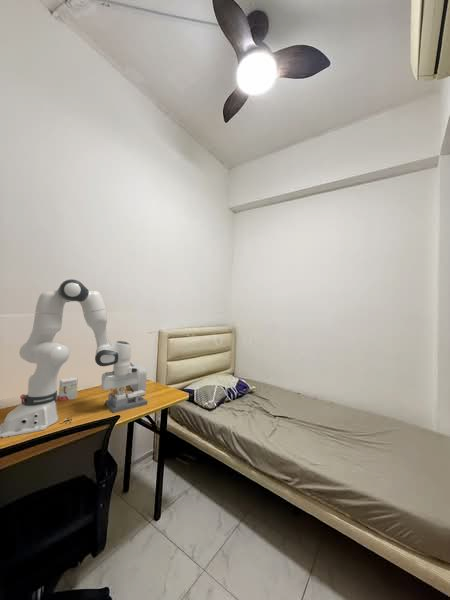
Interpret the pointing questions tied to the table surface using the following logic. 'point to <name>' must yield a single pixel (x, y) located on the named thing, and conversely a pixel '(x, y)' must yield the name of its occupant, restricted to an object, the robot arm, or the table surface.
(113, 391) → the orange button
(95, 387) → the table surface
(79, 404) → the table surface
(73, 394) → the ink box
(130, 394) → the rocker
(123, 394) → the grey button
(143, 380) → the rounded white slab
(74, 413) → the table surface
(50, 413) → the robot arm
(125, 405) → the grey stepped base
